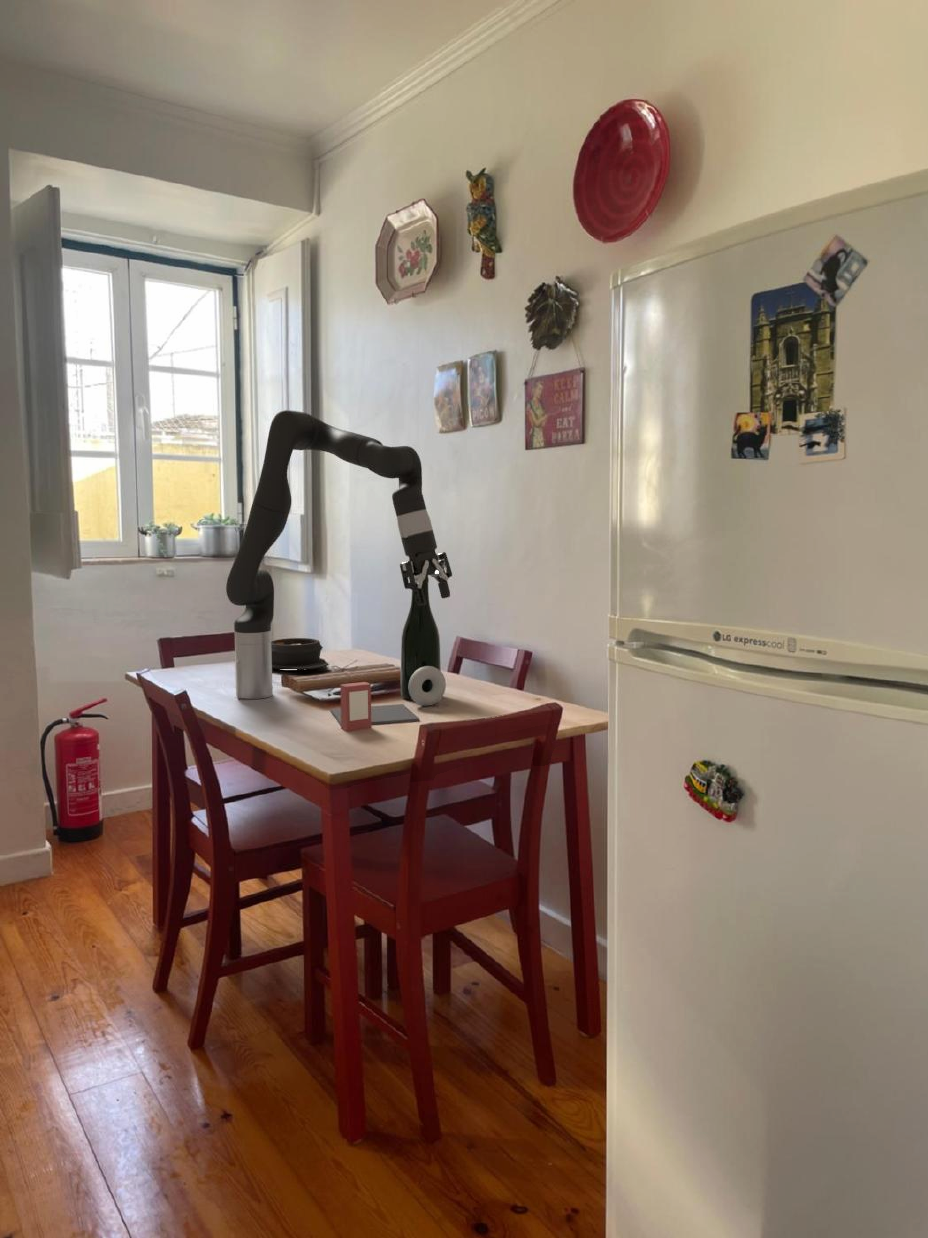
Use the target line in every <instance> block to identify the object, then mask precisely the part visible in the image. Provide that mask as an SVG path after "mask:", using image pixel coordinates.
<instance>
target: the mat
mask: <svg viewBox="0 0 928 1238" xmlns="http://www.w3.org/2000/svg"><path fill="white" fill-rule="evenodd" d="M330 713H331V715H332V716H333V717H334V719H335V720H336V721H337V722H338V725H340V726H341V707H339V708H330ZM408 721H412V722H419V721H420V718H419V717H418V716H417V715H416V714H415V713H414V712H413V711H411V710H410V709H409V708H408V706H406V705H404V704H403V703H400V704H384V705H371V726H372V725H383V724H385V725H386V724H396V723H397V724H399V723H407V722H408ZM408 723H409V722H408Z"/></svg>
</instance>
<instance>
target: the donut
mask: <svg viewBox="0 0 928 1238" xmlns="http://www.w3.org/2000/svg"><path fill="white" fill-rule="evenodd" d="M427 679H429V680H431V681H432V683H433V687H432V689H431V690H430V691H429V692H427V693H426V692H424V691H423V690H422V684H423V682H424V681H425V680H427ZM446 687H447V683H446V678H445V675H444V673H443V672H442V670H441V671H440V670H439V669H437V668H435V667H433V666H424V667H421V668H419V669H418V670H416V671H415V672H414V673H413V674H412V676H411V678H410V680H409V686H408V689H409V694H410V696H411V698H412V699H413V700H412V701H414V702H415V703H416V704H418V705H419V706H422V707H426V706H427V707H428V706H433V705H435V704H437V703H438V702H440V701H441V699H442V698H443V696H444V694H445V691H446Z"/></svg>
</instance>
